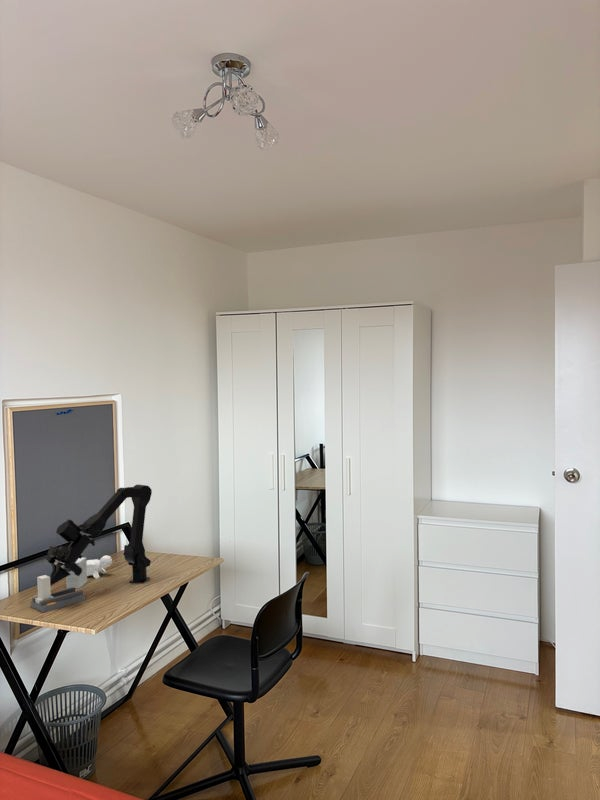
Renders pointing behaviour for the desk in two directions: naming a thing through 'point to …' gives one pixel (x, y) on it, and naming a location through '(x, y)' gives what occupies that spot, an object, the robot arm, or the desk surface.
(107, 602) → the desk surface
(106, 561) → the white toy figurine
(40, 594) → the switch tab
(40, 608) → the switch base
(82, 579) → the small box
